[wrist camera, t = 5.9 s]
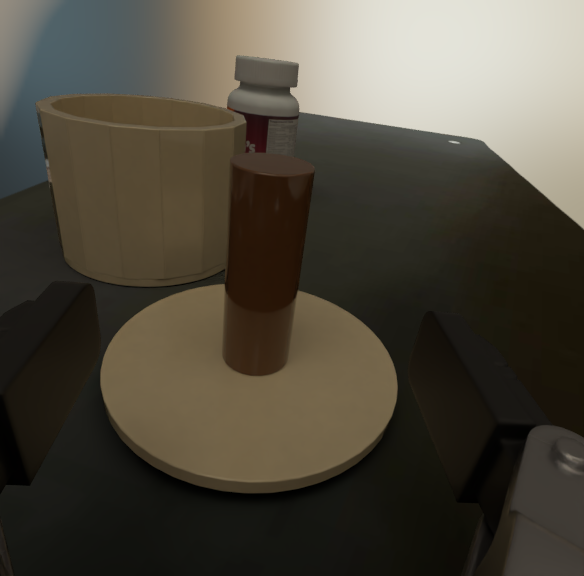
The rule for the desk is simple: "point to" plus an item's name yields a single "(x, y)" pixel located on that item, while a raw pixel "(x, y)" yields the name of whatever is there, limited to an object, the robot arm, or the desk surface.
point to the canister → (140, 185)
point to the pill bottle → (266, 104)
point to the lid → (251, 358)
